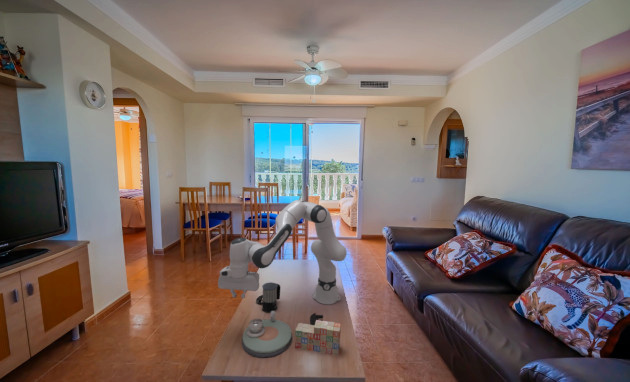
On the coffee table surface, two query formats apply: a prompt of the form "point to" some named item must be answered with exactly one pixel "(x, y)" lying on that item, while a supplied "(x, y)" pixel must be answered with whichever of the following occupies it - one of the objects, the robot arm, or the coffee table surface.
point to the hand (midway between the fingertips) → (238, 297)
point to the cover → (255, 329)
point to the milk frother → (269, 297)
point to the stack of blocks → (318, 337)
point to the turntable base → (266, 355)
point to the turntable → (269, 336)
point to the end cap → (315, 318)
